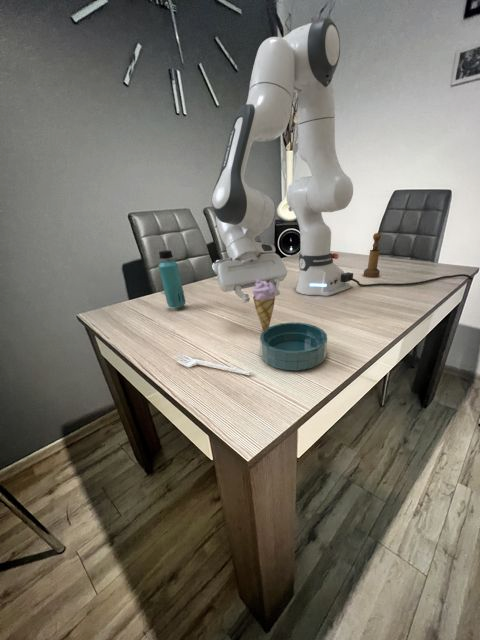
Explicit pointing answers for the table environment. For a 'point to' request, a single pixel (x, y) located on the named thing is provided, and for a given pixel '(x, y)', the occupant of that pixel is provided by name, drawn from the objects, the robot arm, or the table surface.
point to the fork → (206, 364)
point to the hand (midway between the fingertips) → (262, 298)
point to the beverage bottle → (171, 280)
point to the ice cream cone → (264, 301)
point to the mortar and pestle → (373, 259)
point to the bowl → (293, 346)
